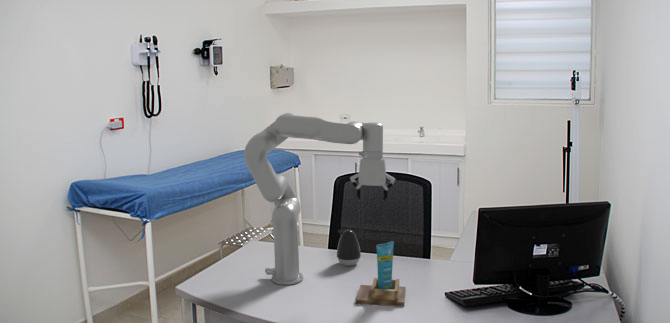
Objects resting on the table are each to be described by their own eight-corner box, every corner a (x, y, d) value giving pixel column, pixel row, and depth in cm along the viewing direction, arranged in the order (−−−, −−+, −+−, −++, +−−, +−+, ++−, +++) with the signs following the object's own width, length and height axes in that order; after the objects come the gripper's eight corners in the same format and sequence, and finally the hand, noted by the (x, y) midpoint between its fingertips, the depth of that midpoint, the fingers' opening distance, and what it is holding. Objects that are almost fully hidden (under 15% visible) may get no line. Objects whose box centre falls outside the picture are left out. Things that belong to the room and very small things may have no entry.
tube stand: (356, 303, 198) (356, 290, 197) (360, 288, 211) (360, 276, 210) (404, 306, 195) (404, 292, 194) (405, 290, 208) (405, 277, 208)
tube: (381, 297, 199) (381, 246, 195) (372, 293, 203) (372, 243, 199) (397, 292, 203) (397, 242, 200) (388, 288, 207) (388, 239, 204)
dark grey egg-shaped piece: (345, 258, 245) (344, 225, 242) (365, 262, 239) (365, 228, 236) (331, 265, 237) (331, 230, 234) (352, 270, 231) (351, 234, 228)
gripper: (348, 156, 208) (348, 200, 211) (394, 157, 205) (393, 202, 208) (351, 153, 216) (351, 196, 218) (396, 154, 212) (395, 198, 215)
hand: (372, 199), depth 213 cm, fingers open, 9 cm apart
